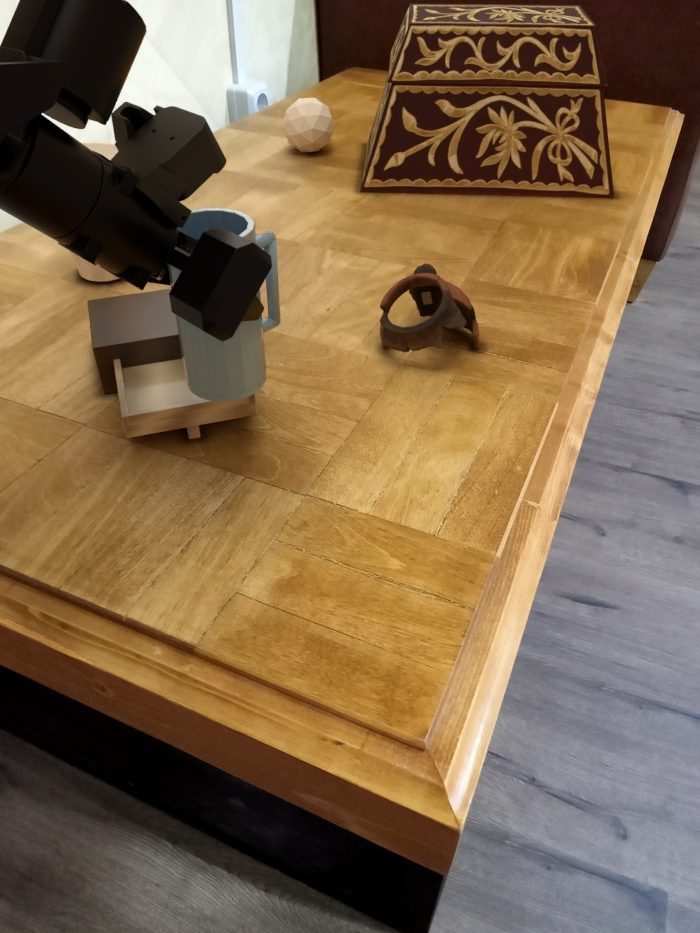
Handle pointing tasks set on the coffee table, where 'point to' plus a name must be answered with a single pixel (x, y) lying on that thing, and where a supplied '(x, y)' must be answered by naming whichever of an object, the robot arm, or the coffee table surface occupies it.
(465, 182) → the decorative box
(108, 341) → the walnut box
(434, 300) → the brown hollow shell
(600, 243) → the coffee table surface
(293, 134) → the geometric ball
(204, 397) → the tall blue mug
